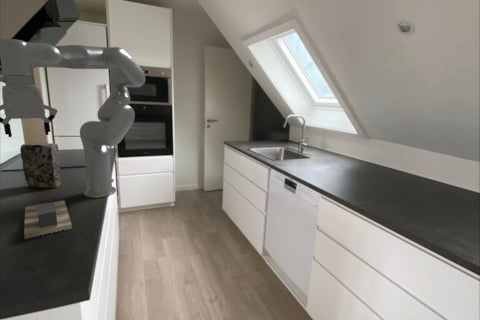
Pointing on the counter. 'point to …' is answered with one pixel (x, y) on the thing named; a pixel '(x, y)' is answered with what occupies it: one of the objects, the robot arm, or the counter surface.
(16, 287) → the counter surface
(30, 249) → the counter surface
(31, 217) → the birch board
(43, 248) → the counter surface
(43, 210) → the sanding sponge
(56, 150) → the stone block
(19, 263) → the counter surface
